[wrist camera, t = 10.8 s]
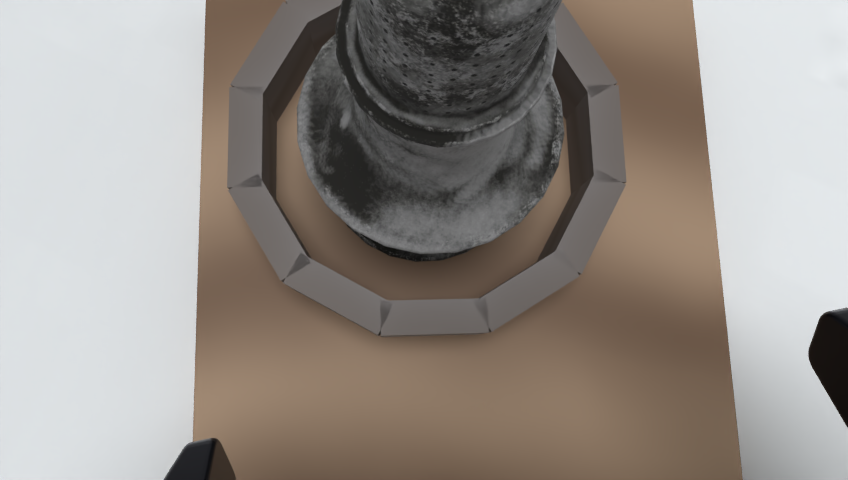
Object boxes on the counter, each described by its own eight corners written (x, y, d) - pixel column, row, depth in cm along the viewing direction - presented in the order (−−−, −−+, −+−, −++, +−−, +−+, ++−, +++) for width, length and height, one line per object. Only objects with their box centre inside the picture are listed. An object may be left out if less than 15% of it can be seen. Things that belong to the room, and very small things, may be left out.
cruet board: (735, 639, 17) (814, 705, 14) (199, 669, 16) (154, 747, 13) (673, 11, 20) (726, -51, 17) (217, 11, 19) (183, -55, 16)
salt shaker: (557, 106, 18) (876, -355, 6) (490, 304, 17) (721, 205, 5) (359, 35, 18) (303, -555, 6) (281, 229, 17) (36, -40, 5)
